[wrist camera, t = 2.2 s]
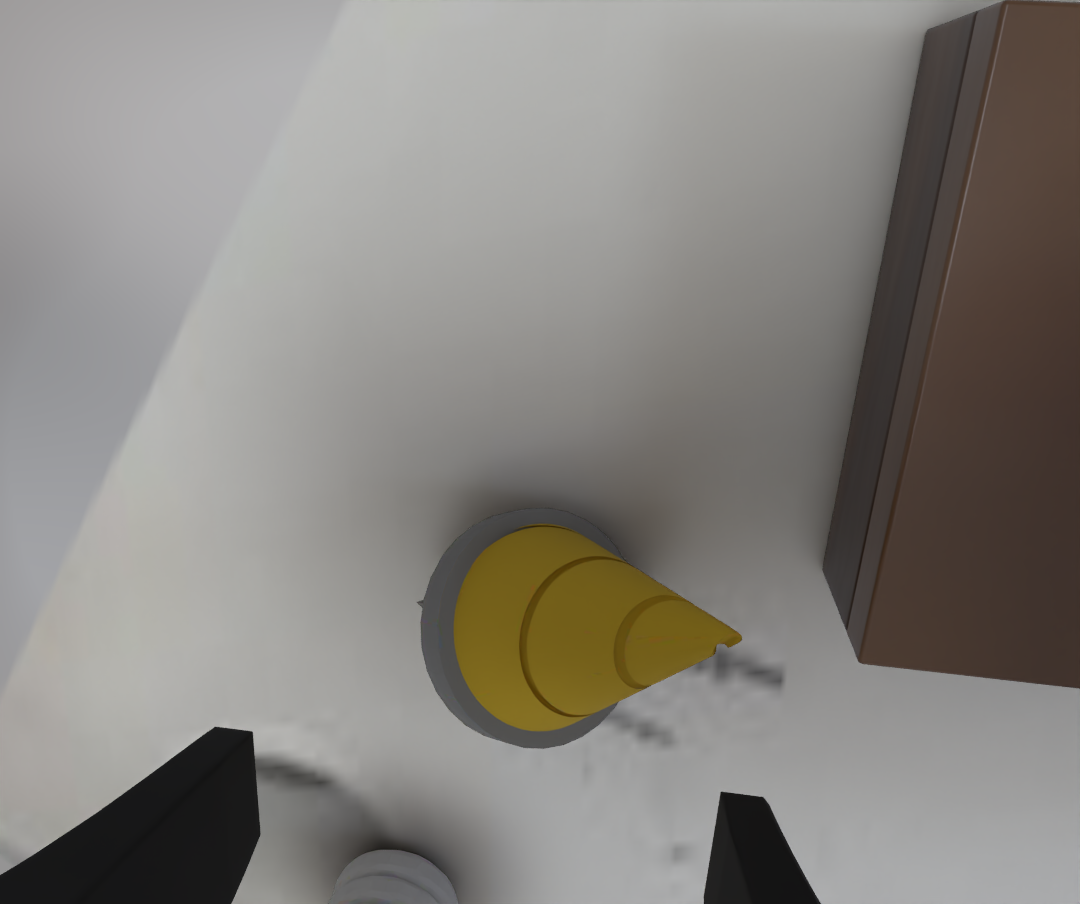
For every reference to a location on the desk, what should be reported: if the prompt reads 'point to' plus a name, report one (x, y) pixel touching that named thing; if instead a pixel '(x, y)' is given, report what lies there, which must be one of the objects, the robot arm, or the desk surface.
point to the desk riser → (974, 369)
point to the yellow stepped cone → (551, 628)
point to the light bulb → (392, 880)
